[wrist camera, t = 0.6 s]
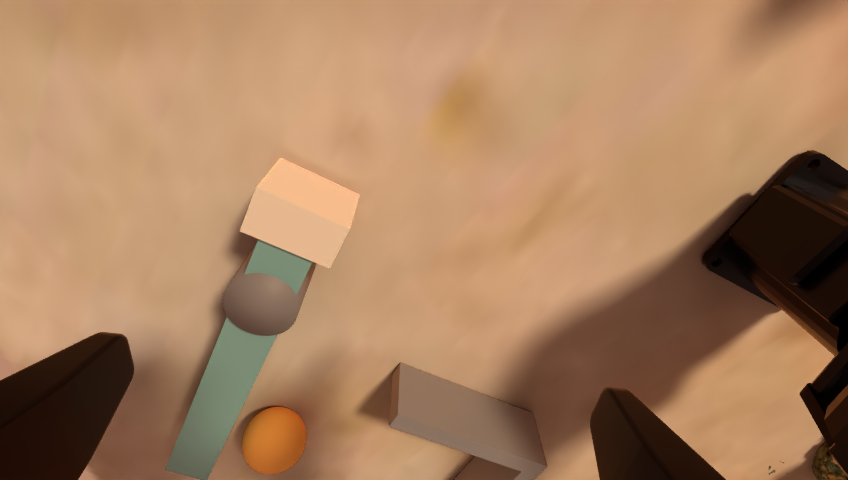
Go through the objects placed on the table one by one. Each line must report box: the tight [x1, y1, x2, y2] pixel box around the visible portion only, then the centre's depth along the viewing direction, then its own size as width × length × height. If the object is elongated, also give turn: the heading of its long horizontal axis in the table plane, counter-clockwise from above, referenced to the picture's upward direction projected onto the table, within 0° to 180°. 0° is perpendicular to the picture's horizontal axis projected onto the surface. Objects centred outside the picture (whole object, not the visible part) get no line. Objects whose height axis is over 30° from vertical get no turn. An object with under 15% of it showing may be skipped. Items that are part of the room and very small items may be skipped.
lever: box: [165, 157, 360, 480], centre depth 22 cm, size 18×4×4 cm, turn 152°
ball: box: [242, 407, 307, 474], centre depth 25 cm, size 4×4×4 cm
